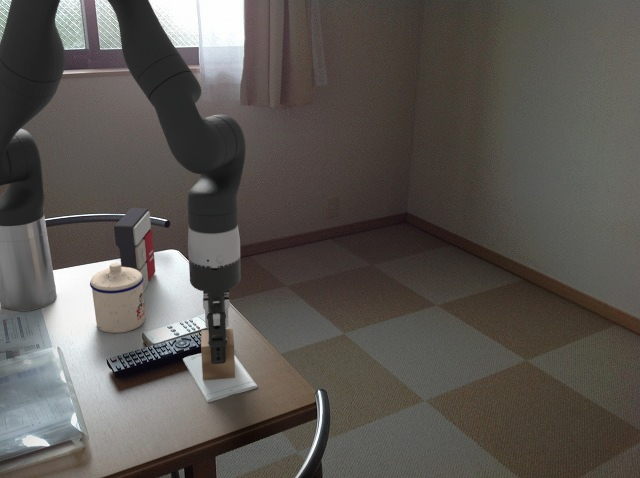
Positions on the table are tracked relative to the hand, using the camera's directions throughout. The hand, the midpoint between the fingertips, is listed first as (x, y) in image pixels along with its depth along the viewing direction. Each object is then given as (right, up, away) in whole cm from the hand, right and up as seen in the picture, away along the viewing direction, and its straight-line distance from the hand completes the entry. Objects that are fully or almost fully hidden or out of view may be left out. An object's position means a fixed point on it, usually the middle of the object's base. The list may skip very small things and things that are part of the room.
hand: (218, 350), depth 93 cm
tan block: (0, -3, +2) cm, 4 cm away
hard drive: (0, -5, +2) cm, 6 cm away
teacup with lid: (-21, +3, +17) cm, 27 cm away
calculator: (-22, +8, +30) cm, 38 cm away
